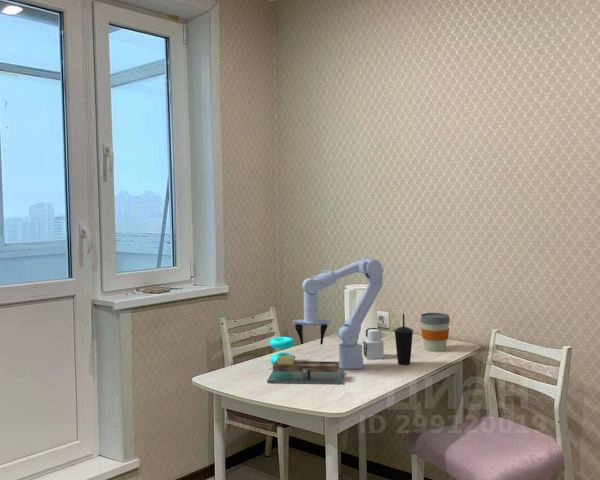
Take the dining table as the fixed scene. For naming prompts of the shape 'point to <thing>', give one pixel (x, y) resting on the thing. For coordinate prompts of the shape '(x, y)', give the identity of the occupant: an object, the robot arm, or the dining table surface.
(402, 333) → the drinking cup
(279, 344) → the donuts
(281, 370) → the brown long flat tray
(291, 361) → the block
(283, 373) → the stand
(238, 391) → the dining table surface
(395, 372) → the dining table surface
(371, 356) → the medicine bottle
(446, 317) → the reusable coffee cup
